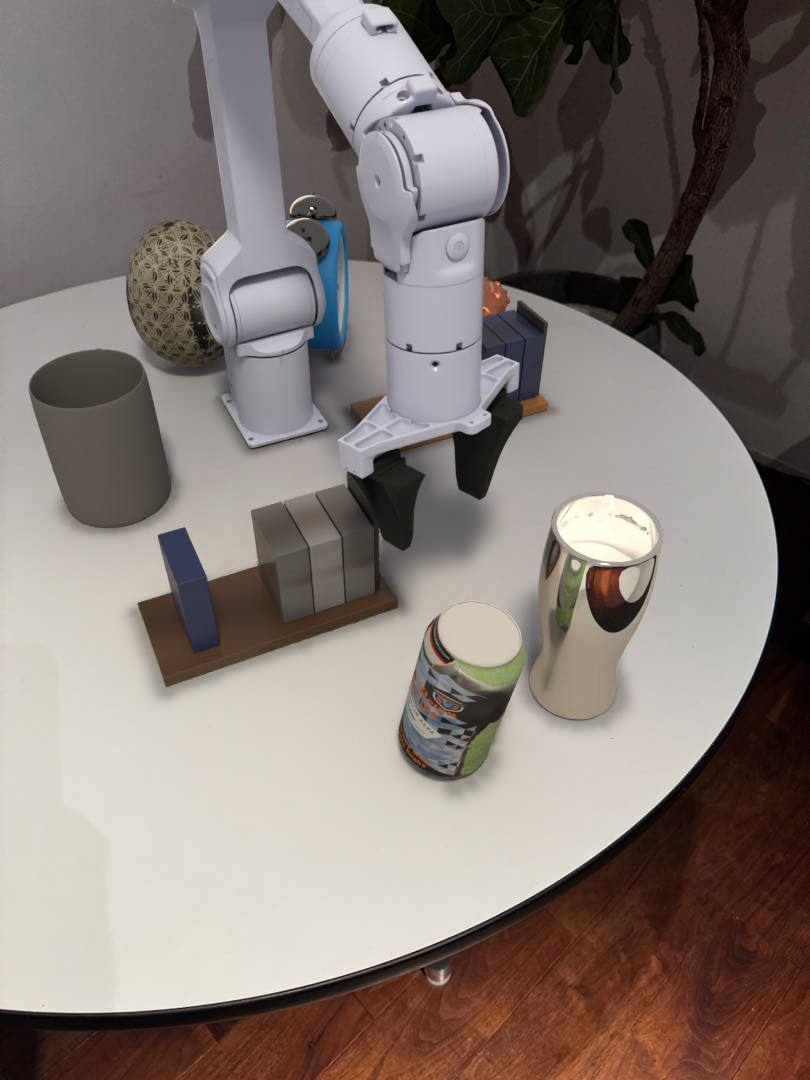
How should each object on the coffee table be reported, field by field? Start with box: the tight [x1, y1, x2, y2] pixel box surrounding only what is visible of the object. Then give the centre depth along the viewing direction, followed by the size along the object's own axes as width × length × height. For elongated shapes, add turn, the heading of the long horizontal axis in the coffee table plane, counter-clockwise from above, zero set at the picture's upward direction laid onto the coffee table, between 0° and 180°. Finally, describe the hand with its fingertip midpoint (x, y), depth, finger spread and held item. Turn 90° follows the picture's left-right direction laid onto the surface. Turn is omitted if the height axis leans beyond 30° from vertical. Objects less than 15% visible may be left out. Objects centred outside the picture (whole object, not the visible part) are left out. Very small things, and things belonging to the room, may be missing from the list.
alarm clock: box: [286, 191, 349, 360], centre depth 91 cm, size 13×6×15 cm, turn 178°
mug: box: [28, 348, 171, 528], centre depth 74 cm, size 14×9×12 cm
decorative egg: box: [125, 219, 225, 368], centre depth 88 cm, size 12×12×15 cm
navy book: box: [157, 526, 220, 653], centre depth 62 cm, size 6×2×7 cm, turn 26°
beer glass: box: [529, 491, 664, 721], centre depth 56 cm, size 7×7×15 cm
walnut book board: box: [137, 471, 398, 688], centre depth 64 cm, size 8×18×9 cm, turn 116°
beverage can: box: [398, 599, 526, 779], centre depth 54 cm, size 6×7×12 cm
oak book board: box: [349, 299, 549, 452], centre depth 84 cm, size 8×18×9 cm, turn 115°
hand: (435, 517), depth 60 cm, fingers open, 7 cm apart
